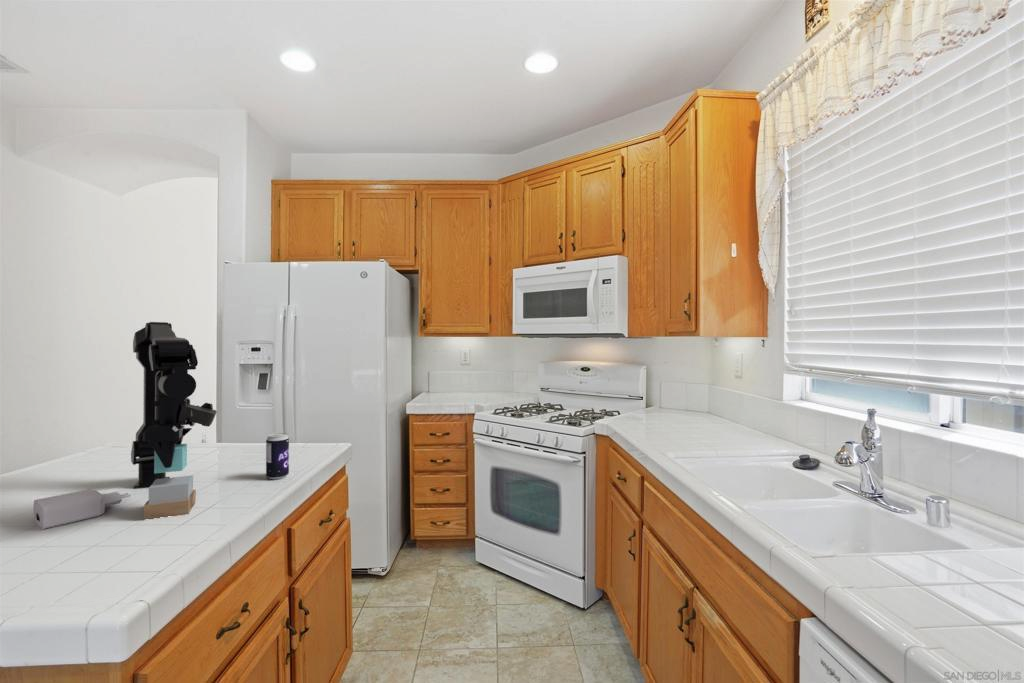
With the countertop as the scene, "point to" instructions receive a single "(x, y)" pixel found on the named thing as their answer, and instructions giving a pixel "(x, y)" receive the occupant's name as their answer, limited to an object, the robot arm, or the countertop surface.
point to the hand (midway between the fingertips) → (170, 464)
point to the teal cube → (178, 460)
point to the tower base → (169, 508)
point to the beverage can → (277, 456)
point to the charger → (73, 507)
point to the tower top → (170, 489)
